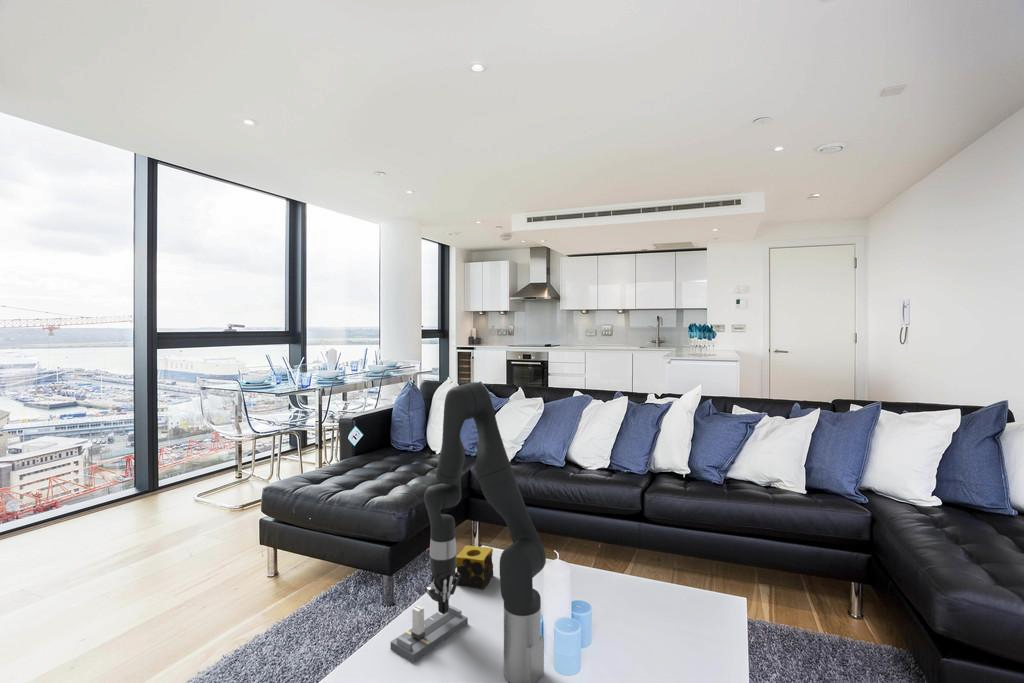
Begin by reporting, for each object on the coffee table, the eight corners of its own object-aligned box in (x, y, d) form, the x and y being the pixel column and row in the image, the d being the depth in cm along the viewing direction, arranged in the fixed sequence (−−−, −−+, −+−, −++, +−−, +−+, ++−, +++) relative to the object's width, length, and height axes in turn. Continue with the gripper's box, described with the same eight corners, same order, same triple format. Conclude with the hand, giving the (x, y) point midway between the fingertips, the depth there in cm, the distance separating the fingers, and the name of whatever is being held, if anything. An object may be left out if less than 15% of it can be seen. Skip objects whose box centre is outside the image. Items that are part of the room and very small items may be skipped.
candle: (493, 575, 176) (493, 547, 176) (484, 590, 166) (484, 560, 166) (466, 572, 179) (466, 544, 179) (455, 586, 169) (455, 556, 169)
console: (467, 624, 147) (467, 612, 147) (413, 662, 130) (413, 648, 130) (445, 613, 153) (445, 601, 153) (390, 648, 136) (390, 635, 136)
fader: (425, 635, 138) (425, 608, 138) (418, 639, 136) (418, 612, 136) (417, 631, 140) (417, 604, 139) (411, 635, 138) (411, 608, 137)
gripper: (435, 565, 137) (436, 627, 138) (468, 548, 148) (468, 606, 148) (416, 557, 142) (417, 618, 142) (449, 541, 152) (450, 598, 153)
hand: (443, 612), depth 145 cm, fingers closed
